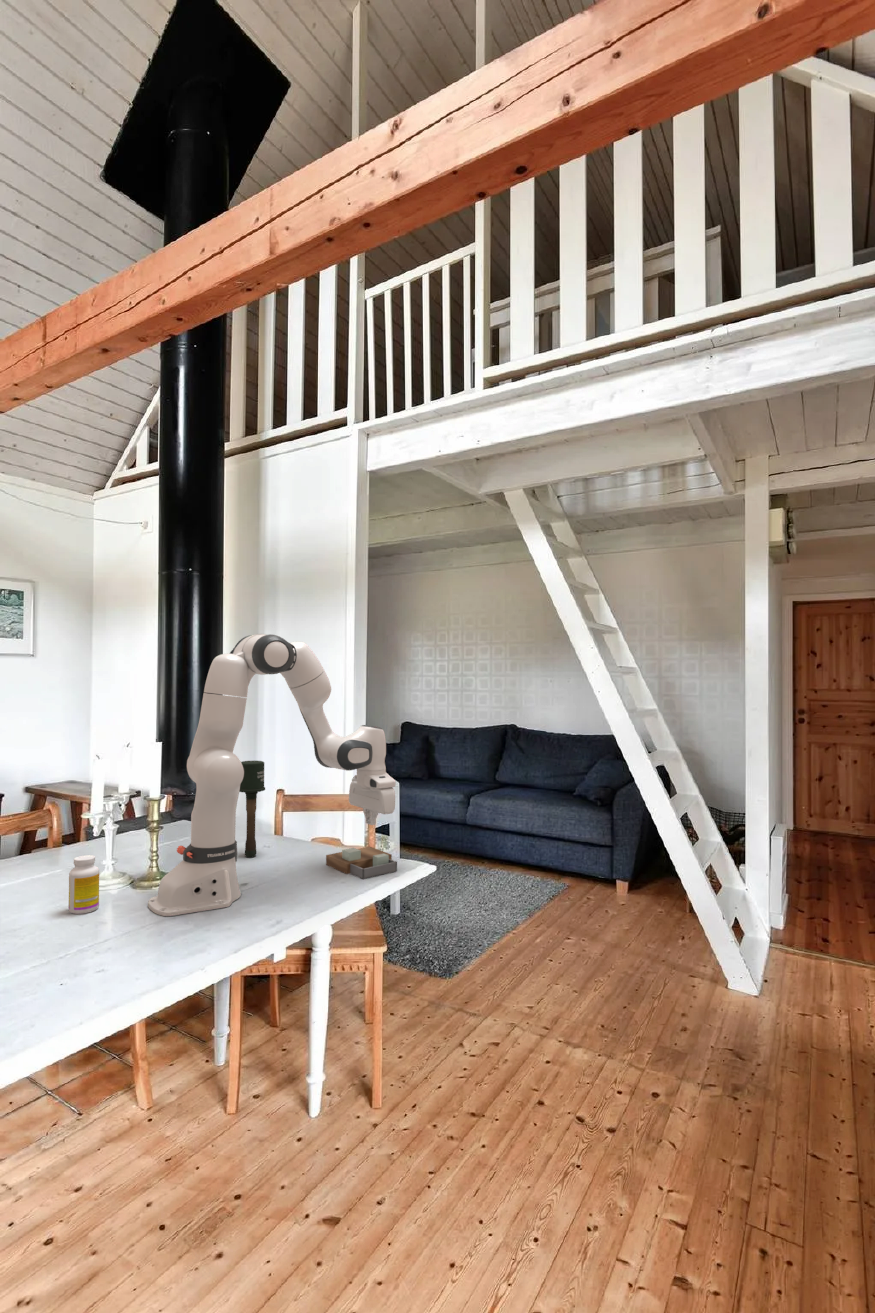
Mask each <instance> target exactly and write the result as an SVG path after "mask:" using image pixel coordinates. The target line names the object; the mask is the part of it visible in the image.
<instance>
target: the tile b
mask: <svg viewBox="0 0 875 1313" xmlns="http://www.w3.org/2000/svg"><path fill="white" fill-rule="evenodd" d="M387 863H389V855H387V854H384V853H383V854H379V855H374V856H373V867H374V866H378V865H383V864H387Z"/></svg>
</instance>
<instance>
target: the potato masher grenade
mask: <svg viewBox="0 0 875 1313" xmlns="http://www.w3.org/2000/svg"><path fill="white" fill-rule="evenodd" d="M241 763H242V766H243V769H244V777H243V780H242V782H241V784H240V791H239V793H245V811H246V839H245V844H244V846H245V848H244V856H245V858H247V859H248V858H255V857H256V855H257V852H258V851H257V840H256V813H257V812H256V811H257V799H258V797H257V796H258V793H259V792H264V791H265V790H266V787H265V762H264V761H262V760H243V761H241Z"/></svg>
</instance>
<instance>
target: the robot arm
mask: <svg viewBox="0 0 875 1313" xmlns="http://www.w3.org/2000/svg"><path fill="white" fill-rule="evenodd" d="M277 674H281V676H282V677H283V678H284V680H285V682H286V685H287V686H288V688H289V690H290V691H291V694H292V696H293V697H294V700H295V701H296V703H297V706H298V709H299V711H300V713H301V716H302V718H303V721H304V723H305V726H306V727H307V729H308V732H309V735H310V737H311V739H312V742H313V749H314V750H313V752H314V756H315V759H316V761H317V762H318V764H320V765H321V766H323V767H325V768H327V769H328V768H329V769H337V770H343V771H346V772H348V771H349V772H350V771H355V770H356V774H355V775H354V776H353V777H352V778H351V782H350V785H349V792H348V803H349V804H350V805H351V806H354V807H357V808H361V809H362V810H363V814H364V818H365V824H367V825H370V826H374V825H376V823H377V820H376V819H377V817H378V815H379V814H381V815H389V814H393V813H394V812H395V810H396V791H395V788H396V785H397V784H396V780H395V779H394V778H393V777H392V776H390V775H389V773H387V768H386V762H385V760H386V755H387V741H386V734H385V731H384V729H383V728H381V727H379V726H374V725H369V724H367V725H366V724H362V725H360V726H359V727H358V728H357V729H356V730H355V731H354V732H351V734H348V735H345V736H340V735H338V734H337V733H336V732H334V730H333V729H332V728H331V725H330V722H329V720H328V718H327V716H326V713H325V712H324V704H325V703H327V701H328V699H329V698H330V695H331V693H332V685H331V682H330V680H329V677H328V674H327V672H326V671H325V669H324V667H323V665H322V663H321V661H320V660H319V658H318V657H317V656H316V654H315V653H314V651H313V650H312V649H311V647H310V646H309V645H308V644H307V643H306V642H303V641H292V642H288V641H287V640H286V639H284V638H283V637H281V636H279V635H275V634H266V633H256V634H253V635H251V634H250V635H246V636H244V637H242V638H240V639H239V640H238V642H237V643H236V644H235V645H234V647H233V648H232V650H231V651H230V652H229V653H221V654H219V655H217V656H215V657H214V658H213V660H212V662H211V664H210V666H209V669H208V673H207V676H206V680H205V684H204V689H203V695H202V701H201V707H200V715H199V720H198V725H197V728H196V732H195V734H194V737H193V741H192V744H191V749H190V752H189V756H188V757H187V760H186V771H187V774H188V776H189V778H190V779H191V781H192V782H194V783H195V785H196V790H195V798H194V804H193V808H192V811H191V816H190V821H191V823H190V843H189V845H188V846H187V847H185V846H184V845H179V846H178V847H177V848H176V853H178V854H179V855H182V860H181V861H180V862H179V863H178V864H177V865H176V866H175V867H173V868H172V869H171V870H170V871H169V872H168V873H166V874H165V875H163V877H162V878H161V880H160V882H159V886H158V890H157V895H155V896H152V897H150V898H149V899H148V903H147V906H148V909H149V910H150V911H151V912H153V913H155V914H156V915H159V916H164V917H172V916H179V915H185V914H192V913H196V912H202V911H203V912H205V911H210V910H215V909H222V908H228V907H230V906H231V905H232V904H233V902H235V901H236V900H238V899H239V898H241V896H242V893H241V889H240V885H239V880H238V874H237V873H238V872H237V865H236V864H237V861H238V860H237V859H238V841H237V840H236V818H237V817H236V815H237V814H236V813H237V806H238V801H239V795H240V792H239V791H240V784H241V782H242V780H243V777H244V769H243V766H242V763H241V762H242V761H241V759H240V758H239V756H237V755H236V754H235V753H234V749H235V746H236V742H237V740H238V737H239V734H240V733H241V730H242V729H243V727H244V726H243V725H244V721H245V720H244V719H245V715H246V714H245V712H246V707H247V700H248V693H249V692H248V690H249V685H250V682H251V680H252V678H253V677H254V676H255V675H261V676H263V675H264V676H265V675H277Z"/></svg>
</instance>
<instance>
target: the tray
mask: <svg viewBox="0 0 875 1313" xmlns="http://www.w3.org/2000/svg"><path fill="white" fill-rule="evenodd" d="M397 872H398V861H395V860H393V859H392V860H391V859H389V863H387V864H383V865H378V866H374V867H369V868H365V869H363V868H361V867H358V866H356V865H353V864H350V874H349V875H351V876H354V877H357V878H359V879H361V880H366V879H367V880H368V879H370V878H374V877H380V876H383V875H387V874H391V873H397Z"/></svg>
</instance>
